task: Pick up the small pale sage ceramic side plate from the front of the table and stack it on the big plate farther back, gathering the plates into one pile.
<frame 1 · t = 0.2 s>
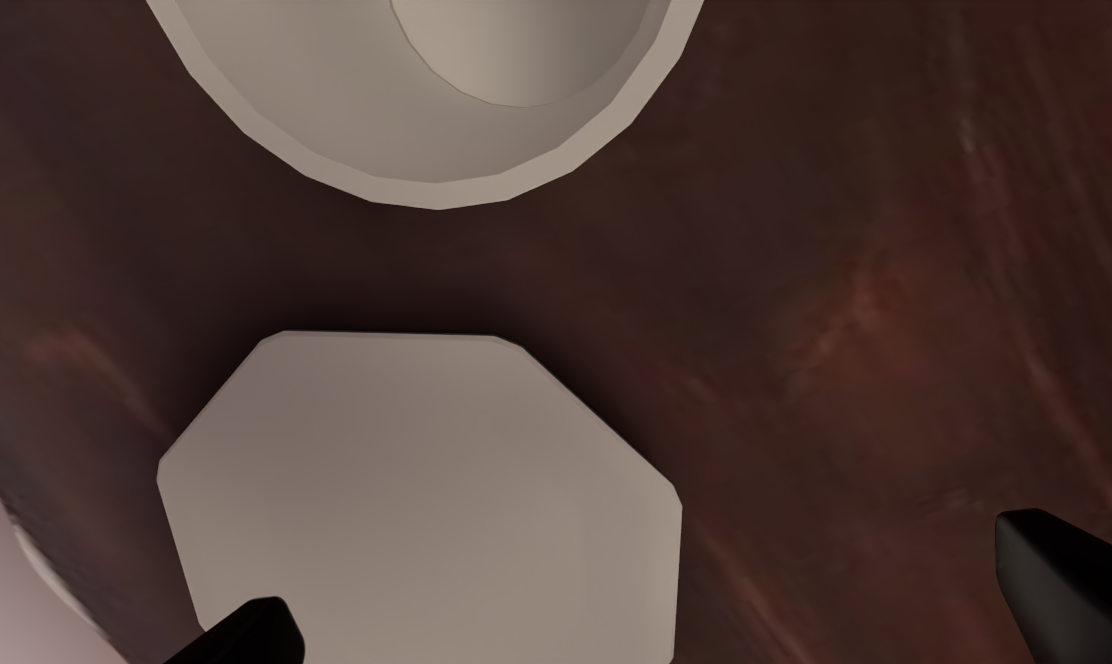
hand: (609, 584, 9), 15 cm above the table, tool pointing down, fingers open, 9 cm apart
plate: (428, 542, 28), on the table
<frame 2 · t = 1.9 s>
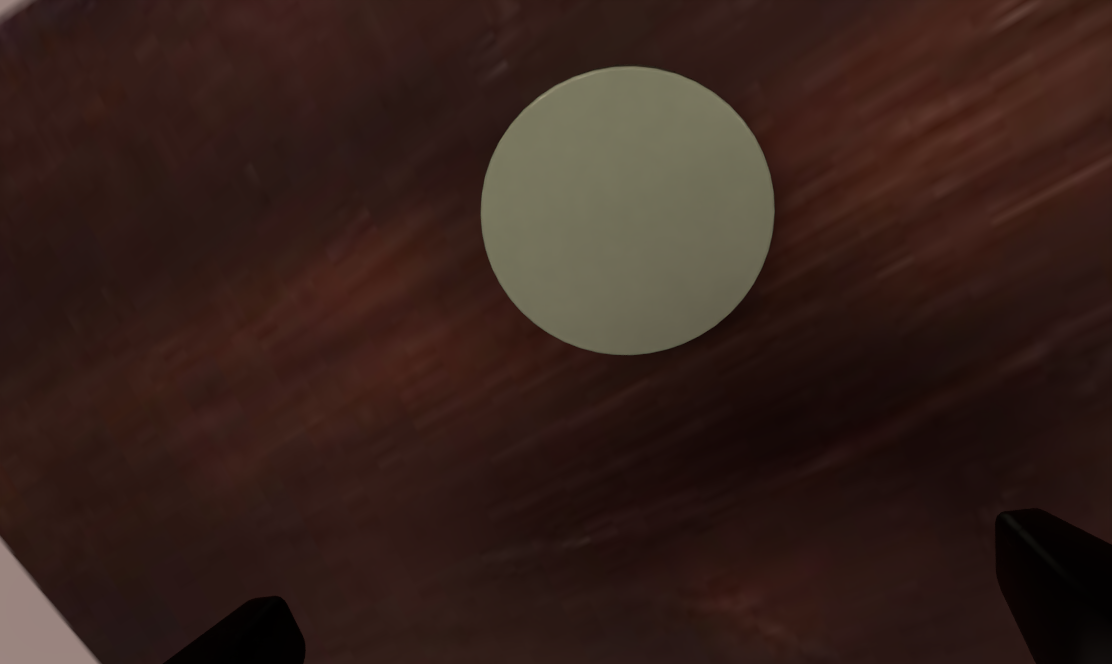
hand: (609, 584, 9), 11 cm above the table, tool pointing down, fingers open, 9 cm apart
side plate: (626, 202, 18), on the table
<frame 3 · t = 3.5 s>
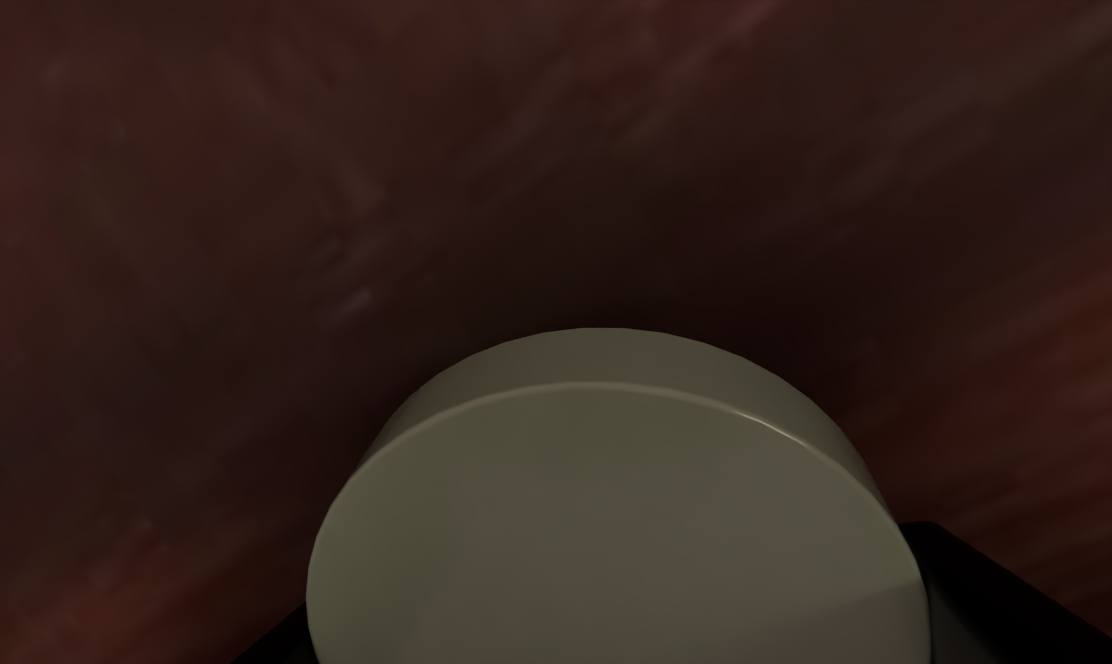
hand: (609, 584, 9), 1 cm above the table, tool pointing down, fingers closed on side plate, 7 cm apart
side plate: (610, 529, 10), on the table, touching gripper
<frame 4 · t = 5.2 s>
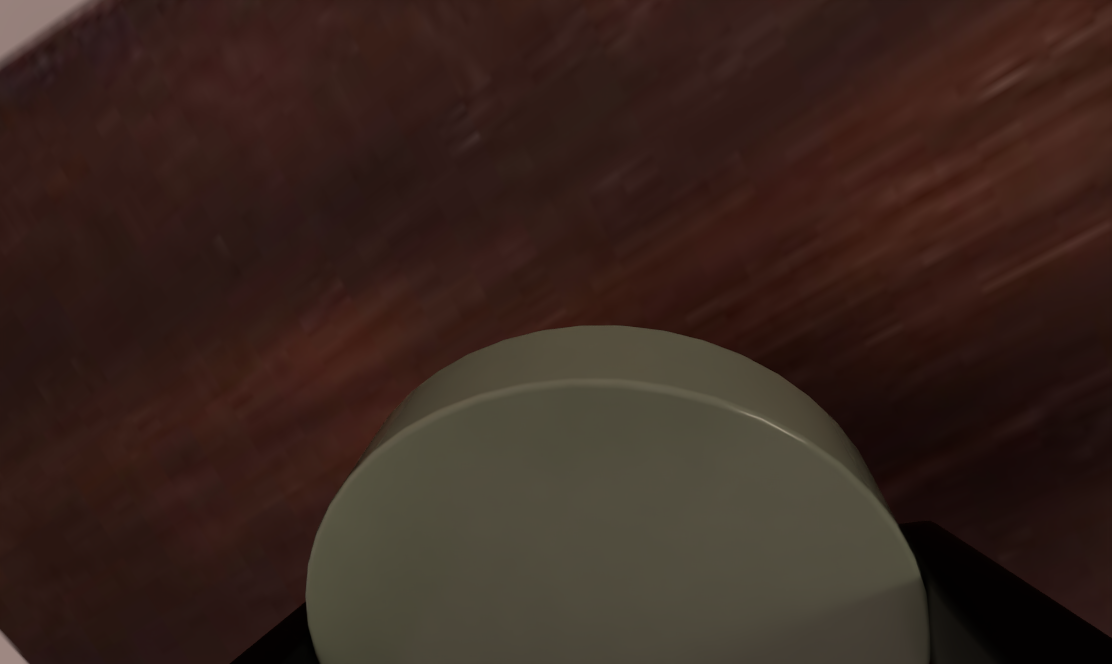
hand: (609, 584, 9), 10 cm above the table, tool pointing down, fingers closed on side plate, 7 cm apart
side plate: (610, 527, 10), point 9 cm above the table, touching gripper
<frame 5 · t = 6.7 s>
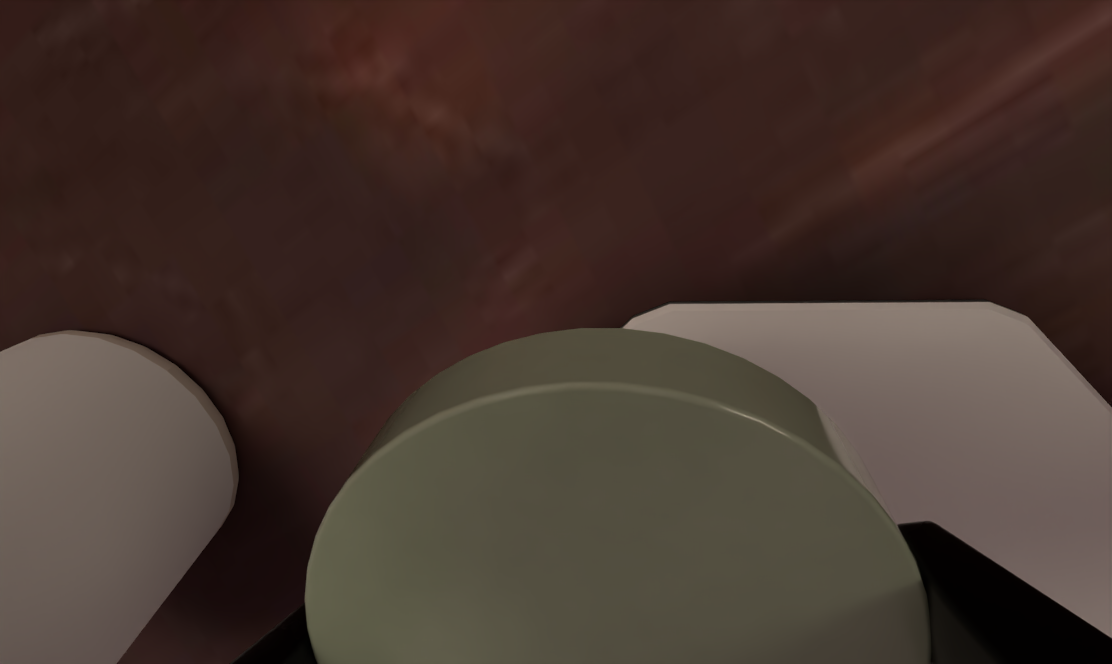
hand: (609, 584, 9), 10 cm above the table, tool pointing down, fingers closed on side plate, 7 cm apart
side plate: (610, 529, 10), point 9 cm above the table, touching gripper
mug: (97, 448, 22), on the table
plate: (779, 585, 21), on the table
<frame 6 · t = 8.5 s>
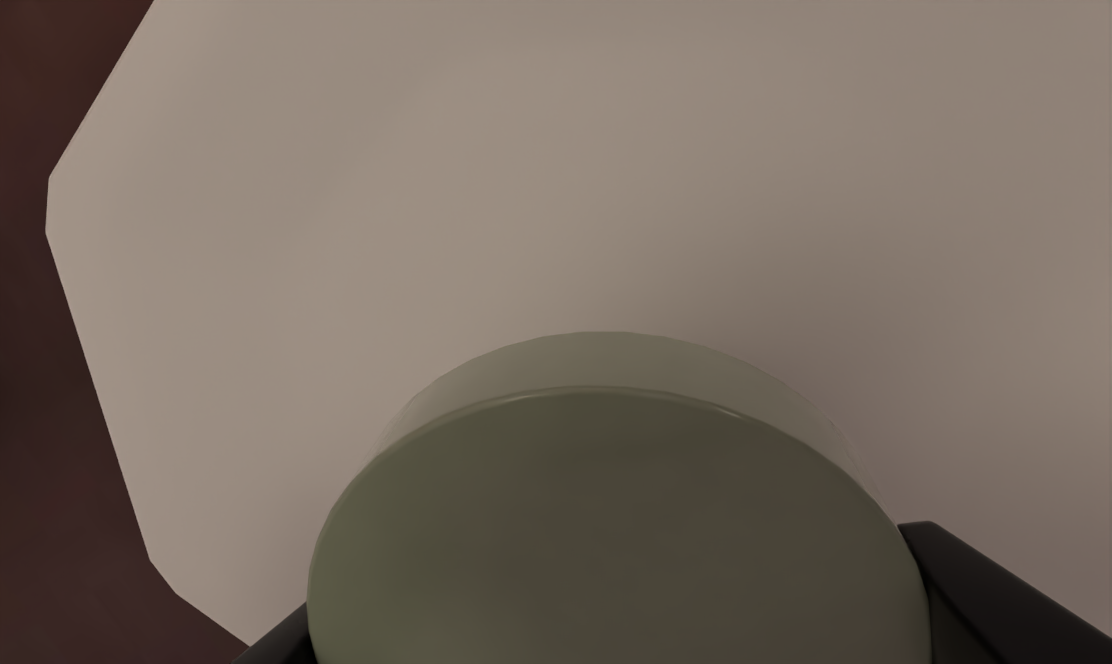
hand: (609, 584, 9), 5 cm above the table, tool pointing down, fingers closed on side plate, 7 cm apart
side plate: (611, 532, 10), point 4 cm above the table, touching gripper
plate: (618, 388, 14), on the table
when the fingers open (2 cm above the table, at t = 9.9 s): side plate stays where it is, resting on plate.
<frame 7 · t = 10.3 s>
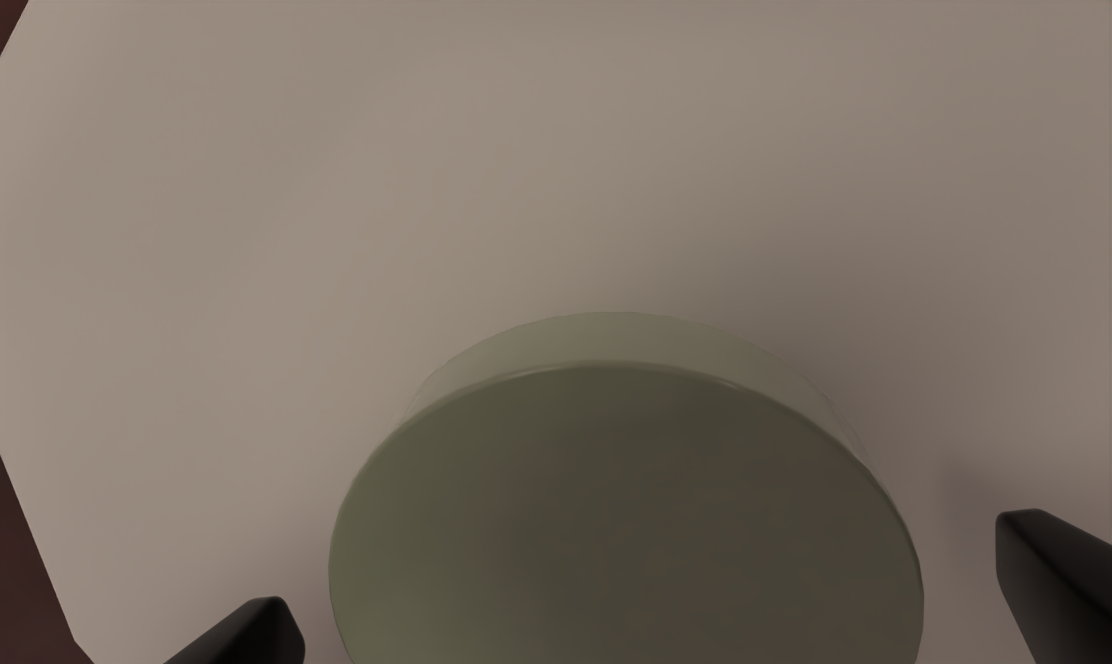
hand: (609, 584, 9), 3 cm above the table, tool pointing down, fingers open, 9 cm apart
side plate: (617, 508, 10), point 2 cm above the table, touching plate
plate: (619, 446, 11), on the table, touching side plate
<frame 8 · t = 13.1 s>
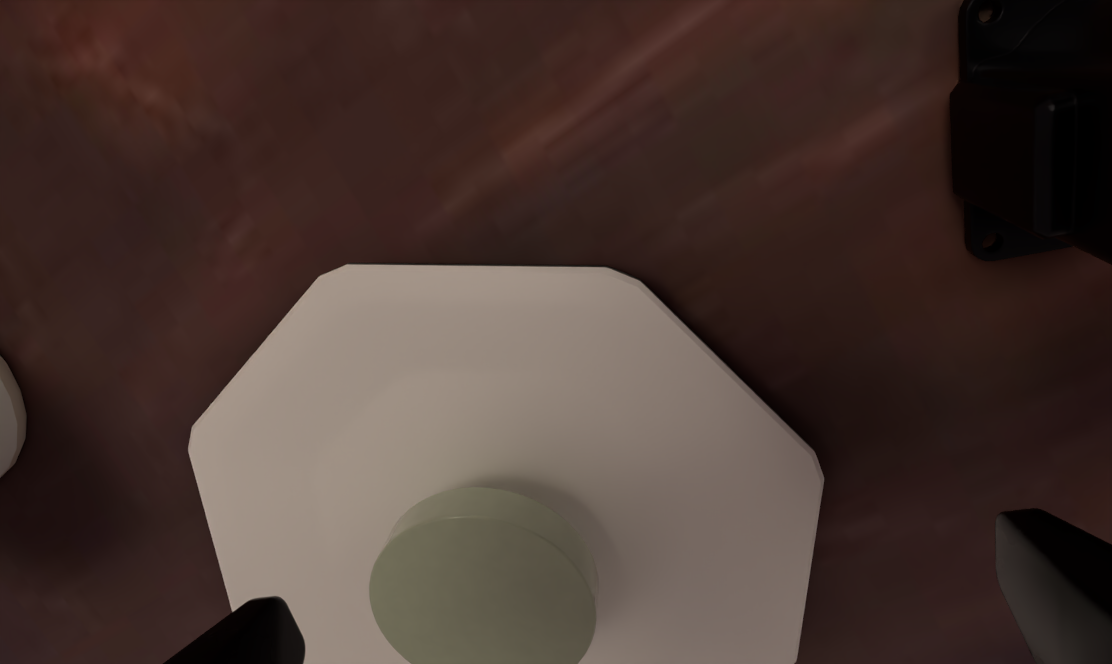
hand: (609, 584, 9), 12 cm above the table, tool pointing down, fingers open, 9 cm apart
side plate: (495, 559, 22), point 2 cm above the table, touching plate
plate: (504, 525, 24), on the table, touching side plate
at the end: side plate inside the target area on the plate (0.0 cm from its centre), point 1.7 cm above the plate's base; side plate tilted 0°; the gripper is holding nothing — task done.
